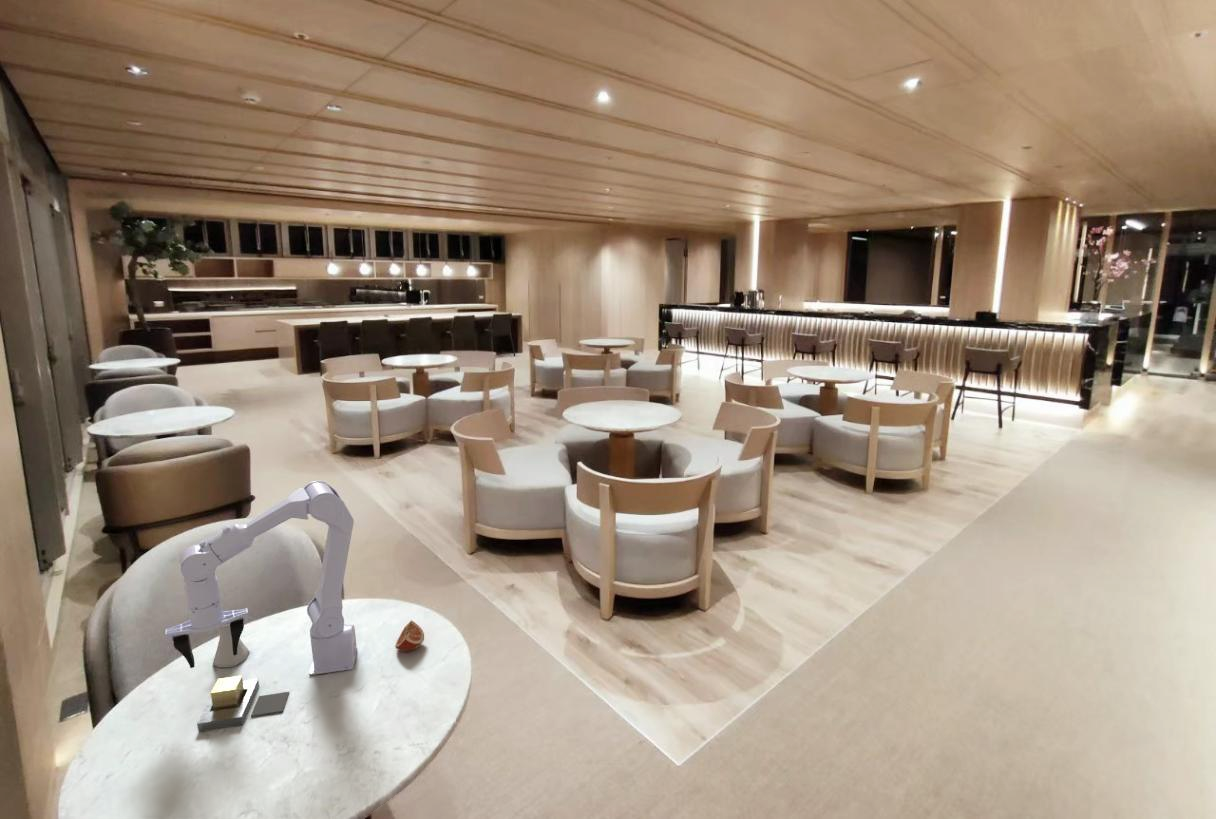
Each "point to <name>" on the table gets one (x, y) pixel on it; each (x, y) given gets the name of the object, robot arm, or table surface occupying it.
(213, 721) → the gray rectangular frame
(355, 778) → the table surface
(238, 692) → the block
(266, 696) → the flat gray plate
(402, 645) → the fruit slice
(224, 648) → the flask
